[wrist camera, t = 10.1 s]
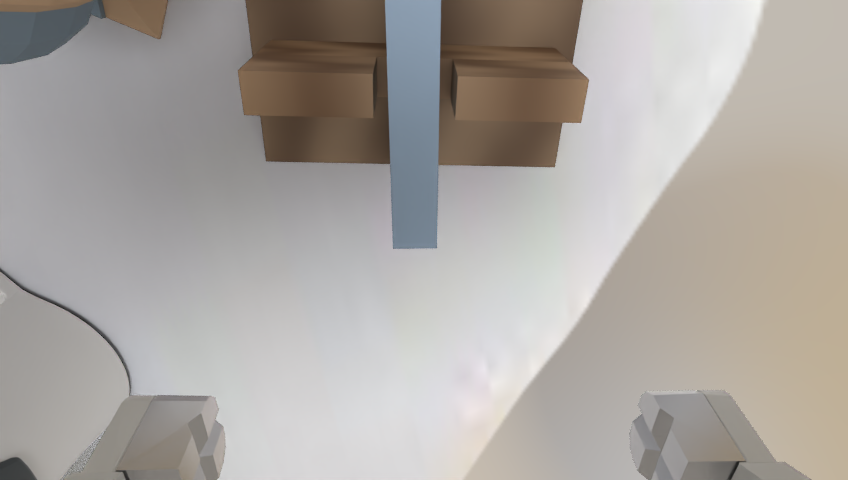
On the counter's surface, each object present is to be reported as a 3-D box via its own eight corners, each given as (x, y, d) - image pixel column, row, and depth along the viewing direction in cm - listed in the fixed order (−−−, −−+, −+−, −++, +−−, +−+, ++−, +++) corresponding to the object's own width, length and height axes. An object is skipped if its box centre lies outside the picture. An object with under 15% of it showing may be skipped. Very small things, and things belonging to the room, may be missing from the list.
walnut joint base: (269, 155, 30) (236, 213, 25) (241, -70, 25) (189, -65, 19) (551, 161, 31) (584, 219, 25) (587, -58, 25) (640, -49, 19)
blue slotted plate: (392, -52, 25) (383, -35, 17) (431, -52, 25) (441, -35, 17) (397, 162, 30) (393, 248, 22) (429, 161, 30) (436, 248, 22)
